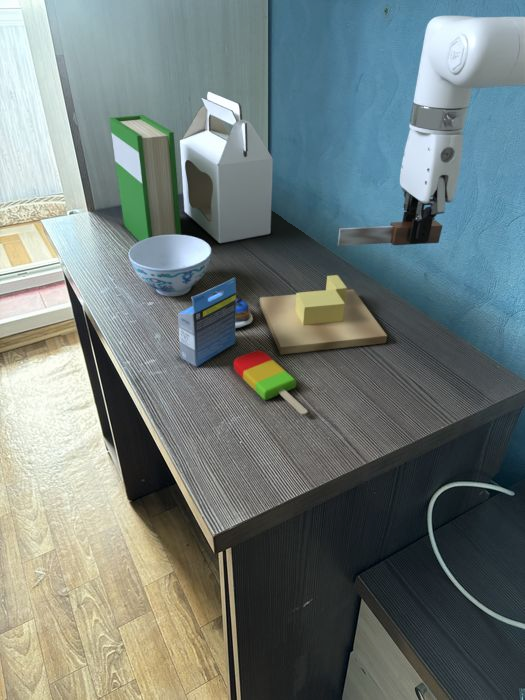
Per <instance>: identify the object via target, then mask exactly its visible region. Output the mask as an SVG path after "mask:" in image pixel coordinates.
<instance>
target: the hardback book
mask: <svg viewBox="0 0 525 700" xmlns="http://www.w3.org/2000/svg"><path fill="white" fill-rule="evenodd" d="M108 119H109V126H110V133H111V141H112V147H113V148H112V149H113V155H114V162H115V168H116V175H117V183H118V191H119V199H120V205H121V213H122V219H123V226H124V227H125V228H126V229H127V230H128V231H129V233H131V234H132V236H134V237H135V239H136V240H137V241H138V242H140V241H142V240H144V239H147V238H151V237H155V236H161V235H182V229H181V228H182V226H181V213H180V199H179V185H178V173H177V160H176V159H177V158H176V147H175V133H174V131H172V130H170V129H169V128H167V127H166V126H164V125H162V124H160V123H158V122H156V121H154V120H152V119H151V118H149V117H147V116H146V115H144V114H137V115H126V116H115V117H114V116H113V117H109V118H108Z"/></svg>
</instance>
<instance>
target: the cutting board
mask: <svg viewBox="0 0 525 700" xmlns="http://www.w3.org/2000/svg"><path fill="white" fill-rule="evenodd" d="M296 294H297V293H295V294H294V293H293V294H285V295H274V296H273V295H272V296H262V297H261V296H260V297H259V306H260V309H261V310H262V314H263V316H264V318H265V320H266V323H267V325H268V328H269V331H270V332H271V335H272V338H273V340H274V342H275V344H276V347H277V350H278V353H279V354H280V355H281V356H282V355H289V354H298V353H307V352H317V351H326V350H335V349H345V348H353V347H361V346H362V347H363V346H370V345H371V346H372V345H380V344H381V345H382V344H386V343H387V340H388V339H387V338H388V335H387V333H386V332H385V331H384V329H383V328H382V327H381V325H380V324H379V323H378V321H377V320H376V319H375V317H374V316H373V314H372V313H371V311H370V310H369V309H368V308H367V306H366V305H365V304H364V302H363V301H362V299H361V298H360V297H359V295H358V294H357V293H356V291H355V289H353V288H351V289H347V291H346V299H345V306H344V313H343V321H340V322H330V323H320V324H310V325H303V324H302V322H301V320H300V318H299V316H298V314H297V312H296V310H295V308H296Z"/></svg>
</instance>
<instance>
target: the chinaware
mask: <svg viewBox="0 0 525 700" xmlns="http://www.w3.org/2000/svg"><path fill="white" fill-rule="evenodd" d="M211 257H212V248H211V246H210V244H209V243H208V242H206V241H205V240H204V239H201V238H199V237H195V236H192V235H187V234H181V235H161V236H155V237H151V238H147V239H144V240H142V241H140V242H139V241H138V242H136V243H135V244H133V245H132V246H131V247H130V248H129V250H128V259H129V262H130V264H131V266H132V269H133V270H134V272H135V273H136V275H137V276H138V278H139V279H140V280H141V281H143V283H145V284H146V285H147V286H149V287H150V288H152V289H155V291H156V292H157V293H158V294H159V295H161V296H164V297H165V296H166V297H180V296H183V295H186V294H187V293H189V292H190V290H191V289H192V287H193V286H195V285H196V284H197V283H198V282H199V281H200V280H201V279H202V278H203V277H204V275H205V274H206V271H207V270H208V268H209V264H210V261H211Z"/></svg>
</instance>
